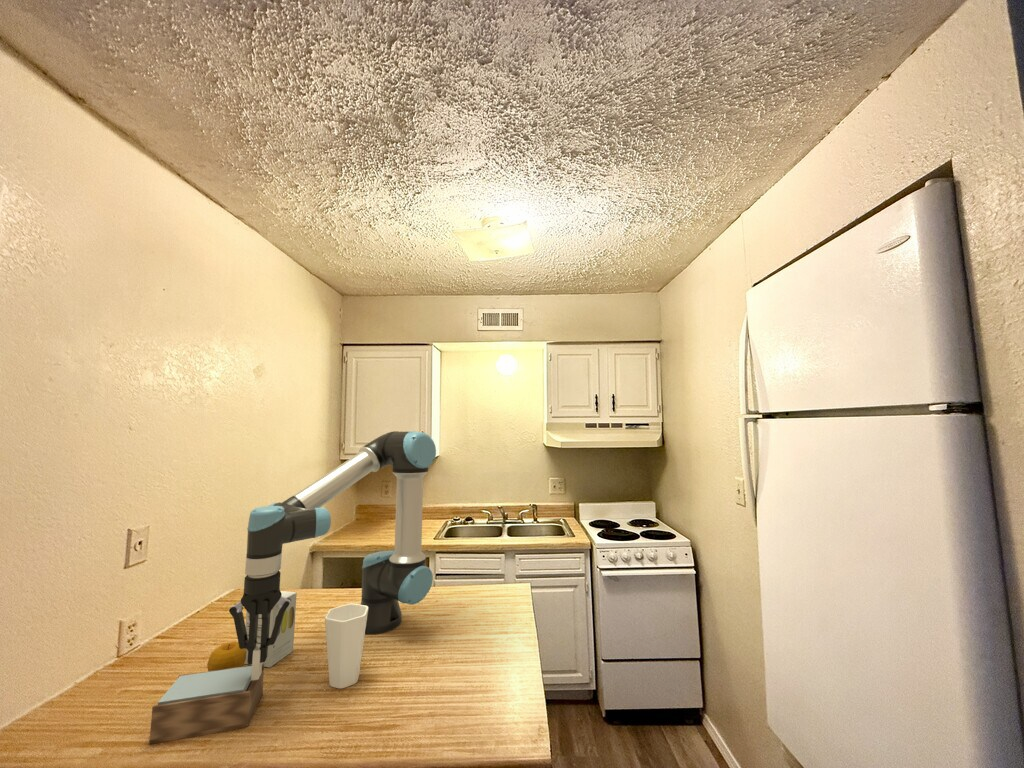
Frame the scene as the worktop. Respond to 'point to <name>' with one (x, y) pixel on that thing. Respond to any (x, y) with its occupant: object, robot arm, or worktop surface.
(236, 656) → the apple
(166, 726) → the box
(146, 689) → the worktop surface
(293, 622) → the supplement box
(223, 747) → the worktop surface
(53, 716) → the worktop surface
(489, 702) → the worktop surface
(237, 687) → the cover plate
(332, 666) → the cup
